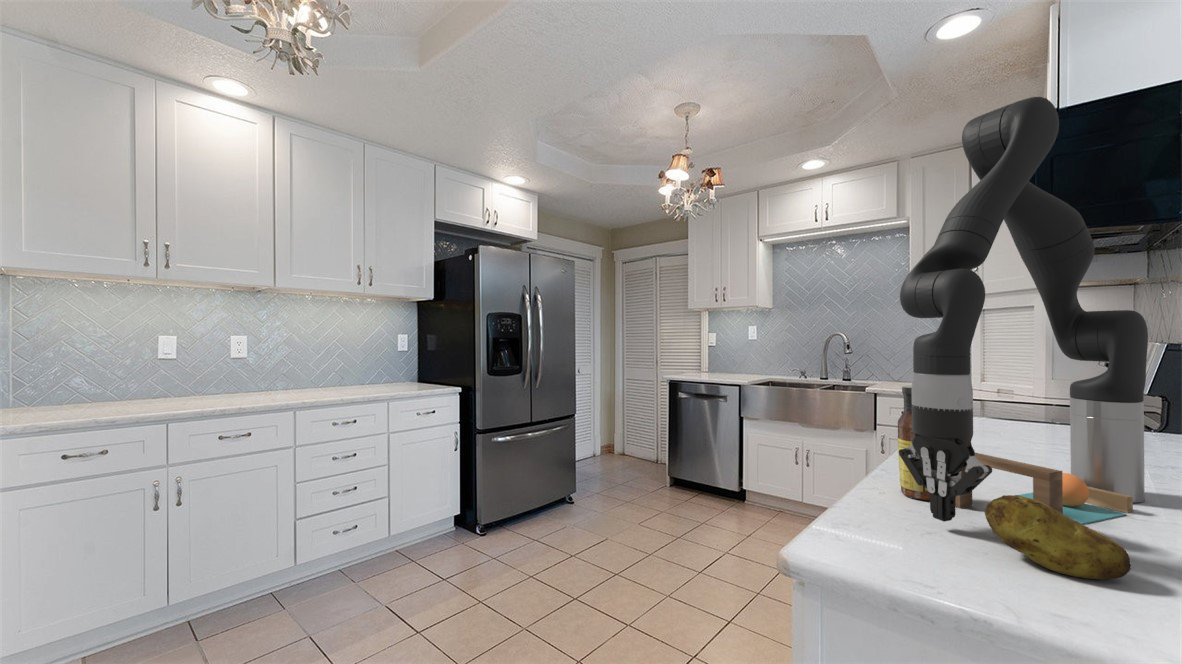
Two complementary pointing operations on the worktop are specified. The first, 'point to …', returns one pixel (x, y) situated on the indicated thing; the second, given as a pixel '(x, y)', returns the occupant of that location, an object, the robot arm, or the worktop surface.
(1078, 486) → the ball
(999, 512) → the potato
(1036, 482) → the bridge
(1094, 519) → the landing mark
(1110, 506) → the stopper strip
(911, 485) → the sauce bottle
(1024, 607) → the worktop surface
